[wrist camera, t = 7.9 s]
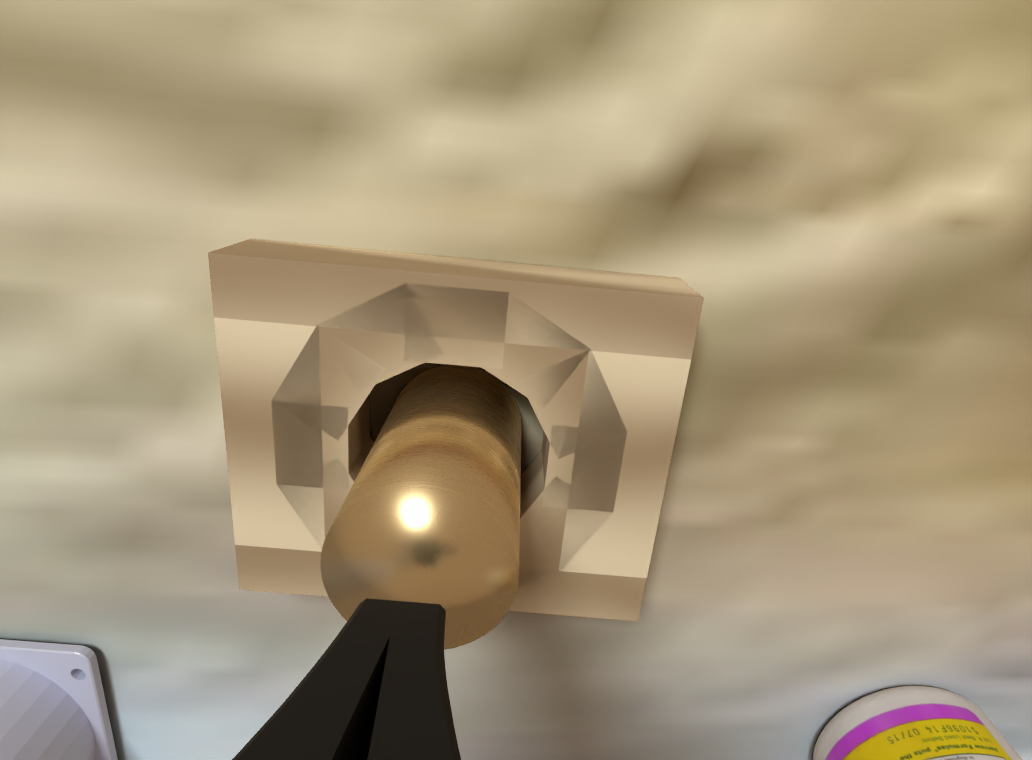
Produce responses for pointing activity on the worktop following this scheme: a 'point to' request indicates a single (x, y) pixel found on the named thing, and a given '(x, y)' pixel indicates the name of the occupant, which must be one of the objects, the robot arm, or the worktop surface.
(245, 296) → the jig
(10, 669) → the robot arm
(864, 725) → the supplement bottle
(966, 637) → the worktop surface
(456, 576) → the brass round peg
